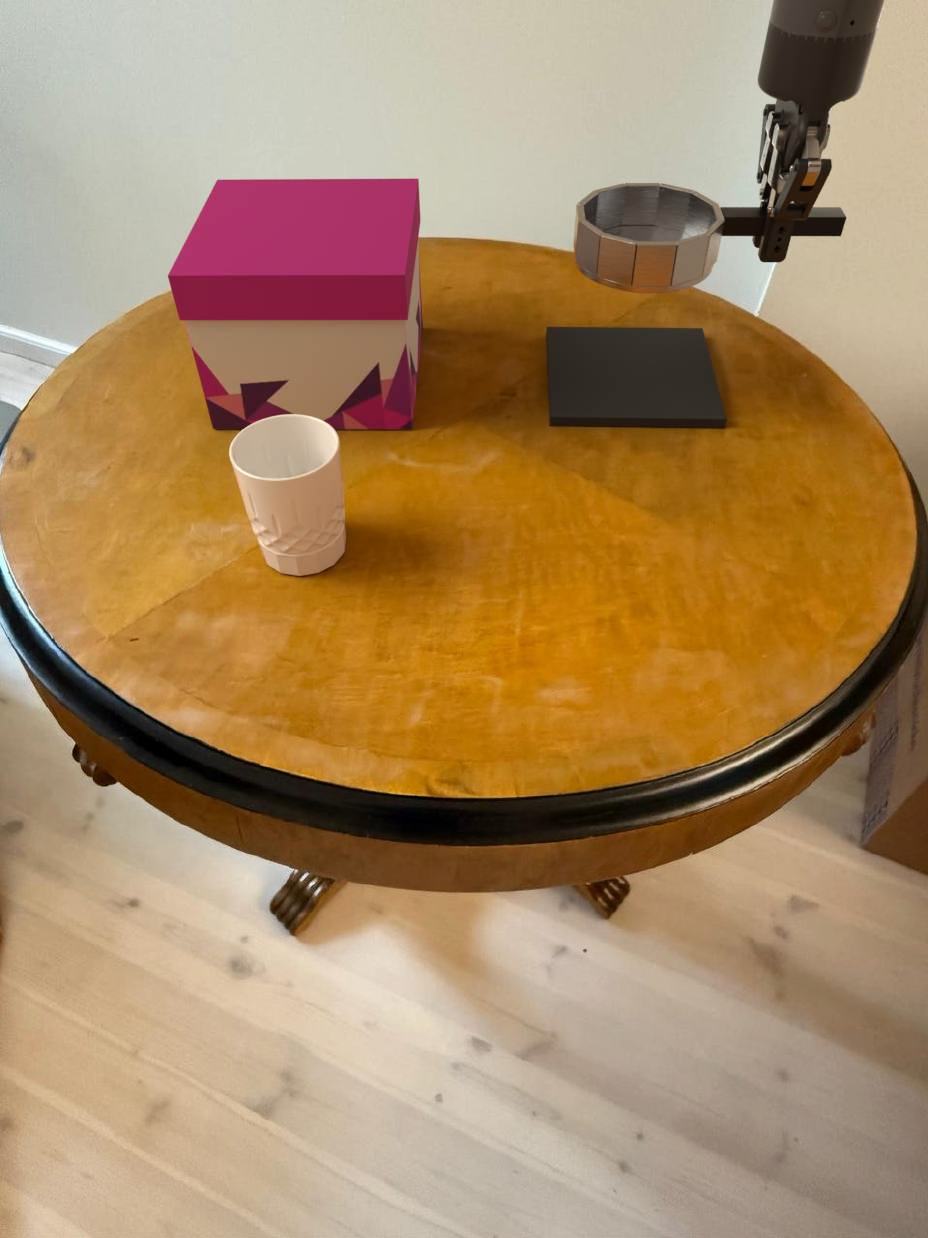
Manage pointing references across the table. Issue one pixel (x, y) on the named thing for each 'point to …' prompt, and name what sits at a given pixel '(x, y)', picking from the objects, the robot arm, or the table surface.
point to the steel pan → (667, 234)
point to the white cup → (292, 491)
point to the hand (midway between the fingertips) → (767, 252)
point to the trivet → (631, 378)
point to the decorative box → (305, 300)
